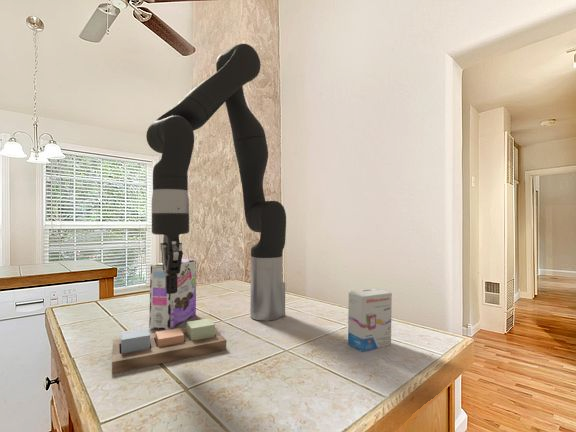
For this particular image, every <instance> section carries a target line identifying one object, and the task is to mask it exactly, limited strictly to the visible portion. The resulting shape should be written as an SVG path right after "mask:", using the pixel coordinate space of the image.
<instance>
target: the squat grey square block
mask: <svg viewBox="0 0 576 432" xmlns="http://www.w3.org/2000/svg"><path fill="white" fill-rule="evenodd" d="M150 334H151V333H150V330H149V327H143V328H138V329H131V330H125V331H124V330H123V331H121V332H120V339H121V353H120V354H122V353H128V352H133V351H139V350H144V349H150Z"/></svg>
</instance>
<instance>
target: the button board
mask: <svg viewBox="0 0 576 432" xmlns="http://www.w3.org/2000/svg"><path fill="white" fill-rule="evenodd" d="M180 329H181V331H182V332H183V334H184V342H182V343H177V344H171V345H166V346H161V347H157V346H156V343H155V332H153V333H150V349H144V350H139V351H133V352H128V353H122V354H121V338H116V339H112V348H111V349H112V351H111V352H112V355H111V357H112V358H111V374H116V373H120V372H121V373H122V372H125V371H130V370H136V369H139V368H145V367H149V366H155V365H159V364H163V363H168V362H169V363H170V362H173V361H180V360H183V359H189V358H194V357H197V356H202V355H203V356H204V355H207V354H211V353H216V352H217V353H218V352H221V351H226V350H227V339H226V338H225V337H224V336H223V335H222V333H220V332H219V330H218V329H216V328H215V337H210V338H204V339H199V340H193V341H190V340H189V338H188V337H187V327H184V328H180Z"/></svg>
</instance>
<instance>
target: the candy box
mask: <svg viewBox="0 0 576 432" xmlns="http://www.w3.org/2000/svg"><path fill="white" fill-rule="evenodd" d="M149 276H150V277H149V279H150V283H149V322H148V325H149V326H148V329H152V330H160V331H163V330H169V329H175V327H177V326H179V325H180V324H182V323H184V322H185V321H186V322H187V320H189V319H190V318H193V317H194V316H196V315H197V259H192V258H191V259H185V258H182V262H181V268H180V273H178V275H177V293H173V294H167V293H166V291H165V276H166V275H165V274H164V271H163V264H162V262H159V263H153V264H150V275H149Z"/></svg>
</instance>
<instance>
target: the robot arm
mask: <svg viewBox="0 0 576 432" xmlns="http://www.w3.org/2000/svg"><path fill="white" fill-rule="evenodd" d="M215 70H216V72H215V73H214V74H212V75H211V76H209V77H208V78H206V79H205V80H204V81H202V82H200V83H199V84H198V85H196V86H195V87H194V88H193V89H191V91H189V92H188V93H187V94H186V95H185V96H184V97H183V98H182V99H181V100H180V101H179V102H178V103H176V105H175V106H174V107H172V108H171V109H169V110H168V111H166V112H165V113H164V114H161V116H159V117H158V118H156V119H155V120H154V121H153V122H152V123H151V124H150V125H149V127H148V128H147V130H146V142H147V145H148V146H149V148H150V149H151V150H153V151H154V152H156V153H159V154H161V158H160V160H159V161H158V162H157V163H156V164H155V165H154V166H153V169H152V196H151V233H152V234H153V235H161V236H162V235H163V239H162V242H159V249H160V253H161V263H162V264H163V271H164V274H165V275H166V276H165V291H166V293H167V294H173V293H177V275H178V273H180V268H181V262H182V259H183V255H184V252H183V243H182V242H180V235H186V234H189V232H190V199H189V198H190V197H189V189H188V187H189V185H188V184H189V183H188V181H189V180H188V179H189V177H188V173H189V168H190V164H191V160H192V156H193V152H194V151H193V150H194V146H195V134H194V131H196V130H198V129H200V128H202V127H203V126H204V125H205V124H206V123H207V122H208V121H209V120H210V119H211V118H212V117H213V115H214V114H215V113H216V112H217V111H218V110H219V109H220V108H221V107H222V106H223V105H224V104H225V108H226V110H227V115H228V116H227V117H228V120H229V124H230V129H231V133H232V141H233V147H234V151H235V156H236V160H237V166H238V171H239V177H240V183H241V188H242V189H241V190H242V196H243V197H242V198H243V199H242V200H243V209H244V217H245V222H246V225H247V226H248V228H249V229H250V230H251V231H252V232H254V233H260V236H259V237H260V238H259V240H258V242H257V243H255V244H254V245H252V246H251V248H250V307H249V308H250V310H249V311H250V318H251V319H254V320H257V321H275V320H279V319H281V318H282V317H286V283H285V282H284V281H283V251H284V249H285V246H286V234H287V214H286V213H287V212H286V209H285V207H284V205H283V204H282V203H281V202H279V201H276V200H266V198H265V192H264V176H265V174H266V173H265V172H266V169H267V165H268V159H269V147H268V143H267V138H266V137H267V136H266V132H265V129H264V127H263V126H262V124H261V123H260V121H259V120H258V119H257V117H256V116H255V115H254V113H253V112H252V111H251V110H250V108H249V107H248V104H247V101H246V97H245V94H244V88H243V87H244V85H246V84H247V83H249V82H252V81H253V80H254V79H256V78H257V77H258V75H259V74H260V71H261V60H260V56H259V54H258V53H257V51H256V49H255V48H254V47H253V46H252V45H250V44H248V43H240V44H235V45H234V46H232V47H230V48H228V49H227V50H225V51H223V52H222V53H220V54H219V55H218V56H217V58H216V61H215Z"/></svg>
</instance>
